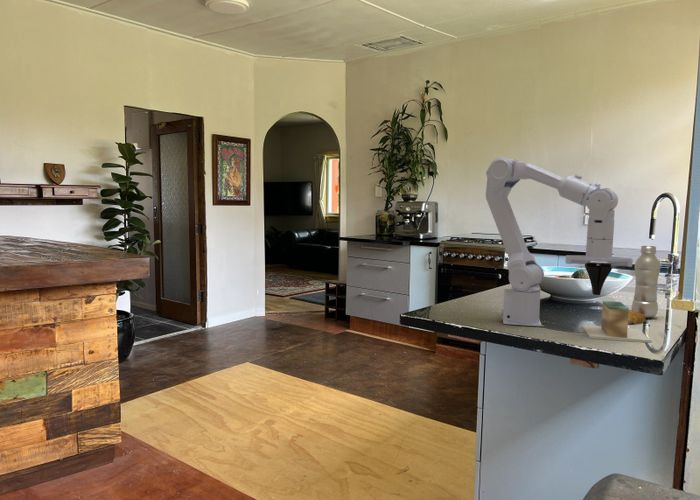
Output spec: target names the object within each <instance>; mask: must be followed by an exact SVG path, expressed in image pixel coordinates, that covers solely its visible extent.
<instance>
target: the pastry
mask: <svg viewBox="0 0 700 500" xmlns="http://www.w3.org/2000/svg"><path fill="white" fill-rule="evenodd" d="M646 319H647V318H646V317H645V315H644V314H642V313H640V312H637V311H634V310H632V309H629V314H628V325H631V324H633V325H637V324H643V323H645V322H646Z"/></svg>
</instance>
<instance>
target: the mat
mask: <svg viewBox="0 0 700 500" xmlns="http://www.w3.org/2000/svg"><path fill="white" fill-rule="evenodd" d="M581 329H583V331H584V332H585V333H586V335H587V336H588V338H589V339H591V340H592V339H593V340H605V339H606V340H607V341H618V342H619V341H621V342H637V343H648V344H649V343H650V344H651V343H652V339H651V338H650V337H649V336H647V335H646V334H645V333H644V332H642V330H640V329H639V328H628V330H627V338H621V337H608V336H607V335H606V333H605V332H604V331H603V330H602V329H601V325H599V326H598V325H585V324H583V325H581Z"/></svg>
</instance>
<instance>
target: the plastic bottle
mask: <svg viewBox="0 0 700 500" xmlns="http://www.w3.org/2000/svg"><path fill="white" fill-rule="evenodd" d="M640 253H641V255H640V256H639V257H638V258H637V259H636V260H635V263H634V274H635V275H634V276H635V283H634V286H635V289H634V295H633V299H632V304H631V310H634V311H637V312H640V313H642V314H644V315H645V317H646V319H647V318H655V317H656V316H657V315H658V310H659V304H658V297H657V296H658V295H657V293H658V291H657V289H658V283H659V282H658V281H659V276H660V272H661V267H662V266H661V262H660V261H659V258H658V257H657V256H656V254H657V246H654V245H642V246H640Z"/></svg>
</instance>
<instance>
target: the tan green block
mask: <svg viewBox="0 0 700 500" xmlns="http://www.w3.org/2000/svg"><path fill="white" fill-rule="evenodd" d="M601 307H602V308H601V325H600V326H601V329H602V330H603V331H604V332H605V333H606V335H607V336H608V337H621V338H627V330H628V326H629V324H628V314H629V310H630V308H629V307H627V306H626V305H625V304H623V302H621V301H613V300H612V301H609V300H602V306H601Z"/></svg>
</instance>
